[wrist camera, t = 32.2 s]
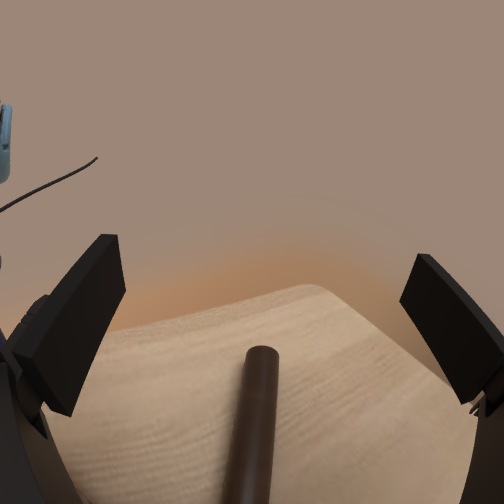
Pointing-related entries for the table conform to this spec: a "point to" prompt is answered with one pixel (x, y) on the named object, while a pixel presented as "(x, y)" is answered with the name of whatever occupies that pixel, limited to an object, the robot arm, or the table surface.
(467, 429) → the table surface
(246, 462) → the stick
